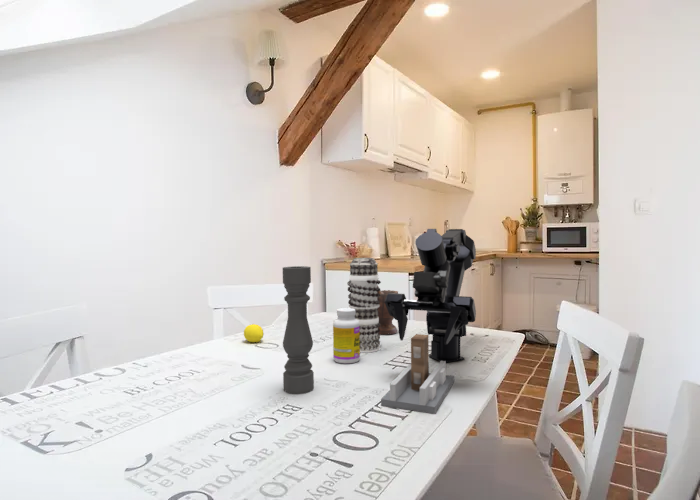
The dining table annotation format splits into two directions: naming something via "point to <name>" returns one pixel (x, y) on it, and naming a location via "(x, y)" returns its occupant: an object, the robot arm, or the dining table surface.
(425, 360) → the brown wooden block
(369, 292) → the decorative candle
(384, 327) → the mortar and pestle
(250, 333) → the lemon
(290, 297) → the candle holder
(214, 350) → the dining table surface
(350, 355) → the supplement bottle
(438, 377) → the grey long channel piece
